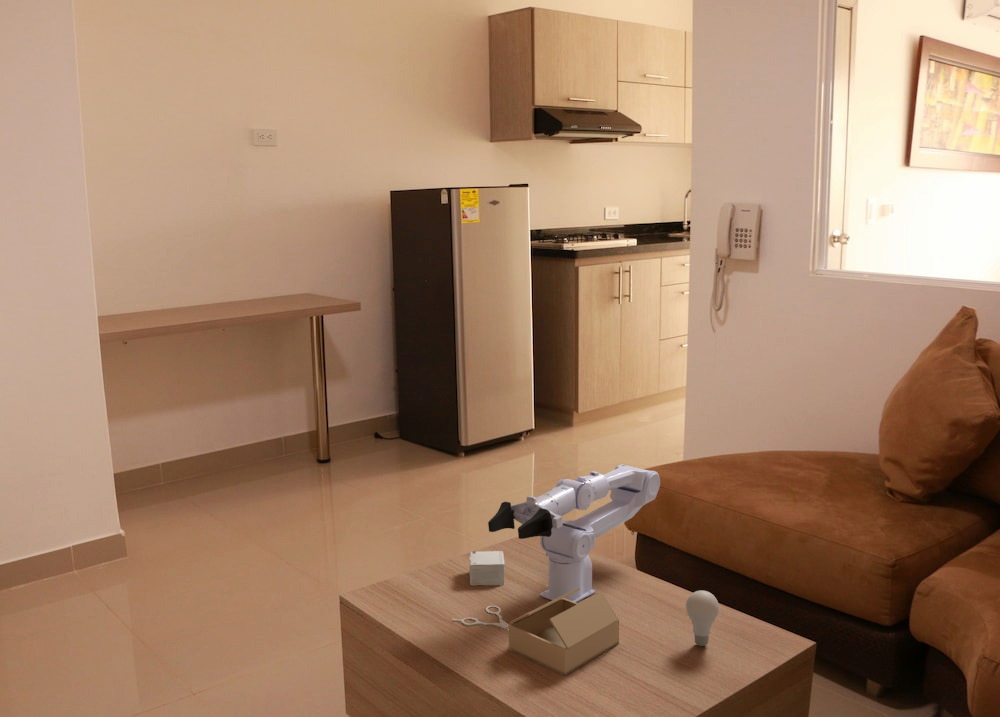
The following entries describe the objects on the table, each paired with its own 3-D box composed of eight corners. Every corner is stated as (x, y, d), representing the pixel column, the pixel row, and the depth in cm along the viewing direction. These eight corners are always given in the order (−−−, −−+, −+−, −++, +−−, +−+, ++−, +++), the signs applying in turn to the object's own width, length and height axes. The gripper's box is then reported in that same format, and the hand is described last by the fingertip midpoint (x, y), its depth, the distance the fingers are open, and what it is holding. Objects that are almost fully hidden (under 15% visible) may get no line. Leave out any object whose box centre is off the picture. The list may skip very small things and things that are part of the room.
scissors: (487, 602, 191) (559, 631, 177) (487, 605, 191) (559, 635, 177) (450, 619, 183) (523, 651, 169) (450, 622, 183) (523, 655, 170)
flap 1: (561, 598, 181) (560, 596, 181) (580, 589, 177) (579, 587, 177) (510, 624, 170) (509, 622, 171) (529, 615, 166) (528, 613, 167)
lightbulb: (678, 641, 173) (679, 588, 171) (704, 635, 175) (706, 582, 173) (697, 656, 167) (699, 601, 165) (724, 649, 170) (726, 595, 168)
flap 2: (600, 592, 173) (601, 591, 173) (617, 620, 171) (618, 619, 171) (549, 619, 163) (550, 618, 163) (566, 649, 161) (568, 648, 161)
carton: (563, 620, 182) (563, 597, 181) (618, 643, 173) (619, 619, 172) (508, 649, 171) (508, 625, 170) (565, 676, 161) (565, 650, 160)
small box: (504, 585, 199) (504, 564, 198) (469, 586, 199) (469, 564, 198) (503, 571, 207) (503, 550, 206) (469, 572, 207) (469, 551, 206)
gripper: (518, 484, 189) (475, 505, 179) (574, 494, 179) (531, 516, 169) (521, 516, 190) (478, 538, 180) (576, 527, 181) (534, 552, 171)
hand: (504, 530), depth 175 cm, fingers open, 7 cm apart
